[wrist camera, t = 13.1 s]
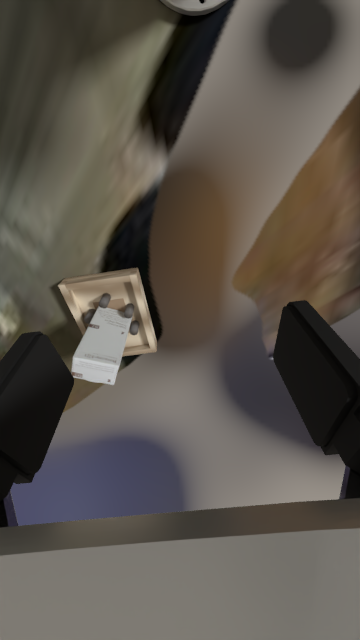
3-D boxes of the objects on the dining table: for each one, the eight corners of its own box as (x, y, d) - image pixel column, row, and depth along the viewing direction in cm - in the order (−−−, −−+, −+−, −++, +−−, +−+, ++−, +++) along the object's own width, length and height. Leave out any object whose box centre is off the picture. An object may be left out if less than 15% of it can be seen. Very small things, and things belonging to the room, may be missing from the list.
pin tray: (64, 278, 36) (55, 289, 33) (137, 267, 36) (135, 277, 33) (98, 350, 45) (93, 364, 42) (156, 342, 45) (156, 355, 42)
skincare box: (133, 313, 39) (121, 365, 29) (127, 332, 41) (115, 386, 32) (96, 304, 38) (72, 355, 28) (93, 324, 40) (69, 378, 30)
